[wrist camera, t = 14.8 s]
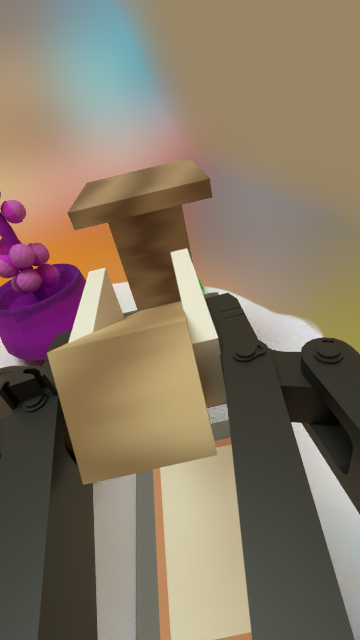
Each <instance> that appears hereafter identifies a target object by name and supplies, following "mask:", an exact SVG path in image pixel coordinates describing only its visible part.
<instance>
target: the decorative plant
mask: <svg viewBox="0 0 360 640" xmlns="http://www.w3.org/2000/svg"><path fill="white" fill-rule="evenodd" d="M0 195H1V194H0ZM1 213H2V214H1ZM1 213H0V235H1V237H2V239H1V240H0V276H1V277H3V278H11V277H13V276H14V277H13V278H12V280H10V281H8V282H6V283H5V284H4V285H2V286H1V287H0V337H1V340H2V342H3V344H4V346H5V348H6V349H7V351H8V353H10V354H12V355H14V356H16V357H17V358H21V359H27V360H45V357H46V355H47V352H48V349H49V346H50V344H51V342H52V341H53V340H54V339H55V338H56V336H57V335H58V334H59V333H63V332H68V331H72V329H73V325H74V322H75V318H76V315H77V311H78V308H79V305H80V301H81V298H82V294H83V291H84V287H85V284H86V280H85V278H84V277H83V275H82V274H81V272H80V270H79V269H78V268H77V267H76V266H73V265H70V264H53V265H50V264H44V263H46V262H47V261H48V259H49V252H48V249H47V248H46V247H45V246H44V245H42V244H41V243H34V244H32V243H30V244H29V245H25V244H22V243H21V242H20V240H18V238H17V236H16V235H15V233H14V231H13V229H12V227H11V226H10V225H9V223H8V222H7V221H9V222H11V223H20V222H22V221H23V219H24V218H25V216H26V211H25V208H24V206H23V205H22V204H21V203H20V202H18V201H16V200H9V201H4V202H3V204H2V205H1ZM6 220H7V221H6ZM32 266H39V267H38V268H37V269H33V267H32ZM19 271H20V272H19Z"/></svg>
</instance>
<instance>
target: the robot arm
mask: <svg viewBox="0 0 360 640" xmlns="http://www.w3.org/2000/svg"><path fill="white" fill-rule="evenodd" d="M171 257H172V261H173V266H174V270H175V275H176V279H177V283H178V288H179V292H180V297H181V301H182V306H183V310H184V312H185V316H186V321H187V325H188V329H189V334H190V338H191V342H192V347H193V351H194V355H195V359H196V364H197V368H198V372H199V376H200V380H201V385H202V389H203V393H204V397H205V402H206V406H207V407H212V406H216V405H220V404H225V403H227V407H228V416H229V426H230V435H231V444H232V454H233V463H234V473H235V482H236V492H237V501H238V511H239V520H240V530H241V539H242V548H243V558H244V567H245V577H246V586H247V596H248V605H249V615H250V624H251V634H252V640H354V637H353V633H352V630H351V626H350V623H349V620H348V616H347V613H346V609H345V606H344V602H343V599H342V596H341V592H340V589H339V585H338V582H337V579H336V575H335V572H334V568H333V565H332V561H331V558H330V555H329V551H328V548H327V544H326V541H325V537H324V534H323V531H322V527H321V524H320V520H319V517H318V514H317V510H316V507H315V503H314V500H313V496H312V493H311V490H310V486H309V483H308V479H307V476H306V473H305V469H304V466H303V462H302V459H301V455H300V452H299V449H298V445H297V442H296V438H295V435H294V432H293V428H292V425H291V422H298V423H302V424H303V426H304V428H305V429H306V431H307V432H308V434H309V435H310V437H311V439H312V440H313V442H314V443H315V445H316V446H317V448H318V449H319V451H320V453H321V454H322V456H323V457H324V459H325V460H326V462H327V464H328V465H329V467H330V468H331V470H332V471H333V473H334V475H335V476H336V478H337V479H338V481H339V482H340V484H341V486H342V487H343V489H344V490H345V492H346V493H347V495H348V497H349V498H350V500H351V501H352V503H353V504H354V506H355V508H356V509H357V511H358V512H359V514H360V354H359V353H358V352H357V351H356V350H355V349H353V348H352V347H351V346H350V345H348V344H347V343H345V342H343V341H341V340H338V339H335V338H324V337H323V338H317V339H313V340H311V341H309V342H307V343H306V344H305V345H304V346H303V347H302V350H301V352H282V351H276V350H272V349H270V348H268V347H267V345H266V344H264V343H263V342H261V341H259V340H258V338H257V336H256V334H255V332H254V331H253V329H252V327H251V325H250V323H249V321H248V319H247V317H246V315H245V313H244V311H243V309H242V308H241V305H240V303H239V302H238V300H237V298H235V297H234V296H232V295H230V294H229V293H226V294H221V295H217V296H213V297H208V298H204V296H203V293H202V290H201V287H200V284H199V281H198V278H197V276H196V273H195V270H194V267H193V264H192V261H191V258H190V255H189V253H188V250H187V248H186V249H182V250H178V251H174V252H171ZM123 318H124V316H123V313H122V310H121V308H120V305H119V302H118V300H117V297H116V294H115V292H114V289H113V287H112V284H111V281H110V279H109V276H108V273H107V271H106V268H103V269H99V270H94V271H90V272H89V274H88V277H87V281H86V284H85V287H84V291H83V294H82V298H81V301H80V305H79V308H78V311H77V315H76V318H75V322H74V325H73V329H72V331H68V332H63V333H59V334H58V335H57V336H56V338H55V339H54V340H53V341H52V342H51V344H50V346H49V349H48V352H50V351H52V350H54V349H56V348H58V347H61V346H63V345H65V344H67V343H70V342H72V341H74V340H76V339H79V338H81V337H83V336H85V335H87V334H90V333H92V332H94V331H97V330H99V329H101V328H103V327H106V326H108V325H110V324H112V323H114V322H117V321H119V320H121V319H123ZM44 362H45V363H43V366H42V367H41V366H37V365H31V366H26V367H23V368H21V369H19V370H16V371H15V372H13V373H12V374H10V375H9V376H7V377H6V378H5V379H4V380H3V381H2V382H1V383H0V396H1V397H2V398H3V399H4V401H5V402H6V403H7V404H8V406H9V407H10V408H11V409H12V413H11V415H9V416H8V417H6V418H4V419H1V420H0V640H98V639H97V607H96V576H95V544H94V512H93V483H90V484H85V485H83V482H82V479H81V475H80V471H79V468H78V464H77V460H76V457H75V453H74V450H73V446H72V442H71V439H70V435H69V431H68V428H67V424H66V421H65V417H64V413H63V410H62V406H61V402H60V399H59V395H58V392H57V388H56V384H55V381H54V377H53V373H52V370H51V366H50V363H49V359H48V355H46V357H45V360H44Z"/></svg>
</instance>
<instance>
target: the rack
mask: <svg viewBox="0 0 360 640" xmlns="http://www.w3.org/2000/svg"><path fill="white" fill-rule="evenodd" d="M211 197H212V193H211V185H210V179H209V177H208V176H207V175H206V174H205V173H204V172H203V171H202V170H201V169H200V168H199V167H198V166H197V165H196V164H195V163H194V162H193V161H192V160H191V159H190V158H188V159H184V160H180V161H176V162H171V163H168V164H163V165H159V166H155V167H151V168H147V169H143V170H139V171H134V172H131V173H127V174H122V175H118V176H114V177H110V178H106V179H101V180H97V181H93V182H89V183H87V184H86V185H85V187H84V188H83V190H82V191H81V193H80V194H79V196H78V198H77V199H76V201H75V202H74V204H73V205H72V207H71V208H70V210H69V211H68V215H69V217H70V220H71V222H72V225H73V227H74V230H78V229H82V228H86V227H90V226H94V225H99V224H102V223H107V222H108V224H109V227H110V230H111V233H112V235H113V238H114V241H115V244H116V247H117V250H118V253H119V256H120V259H121V262H122V265H123V268H124V271H125V274H126V277H127V280H128V283H129V286H130V289H131V292H132V295H133V298H134V301H135V304H136V307H137V309H138V310H140V309H144V308H149V307H153V306H157V305H161V304H166V303H170V302H174V301H178V300H181V297H180V292H179V288H178V283H177V279H176V275H175V270H174V266H173V261H172V257H171V252H174V251H178V250H182V249H186V248H187V250H188V253H189V255H190V258H191V261H192V257H191V252H190V246H189V241H188V236H187V231H186V226H185V221H184V215H183V210H182V204H186V203H190V202H195V201H198V200H203V199H207V198H211ZM192 264H193V262H192ZM225 404H226V403H225ZM220 405H221V404H220ZM216 406H217V405H216ZM212 407H213V406H212ZM207 408H208V407H207Z"/></svg>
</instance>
